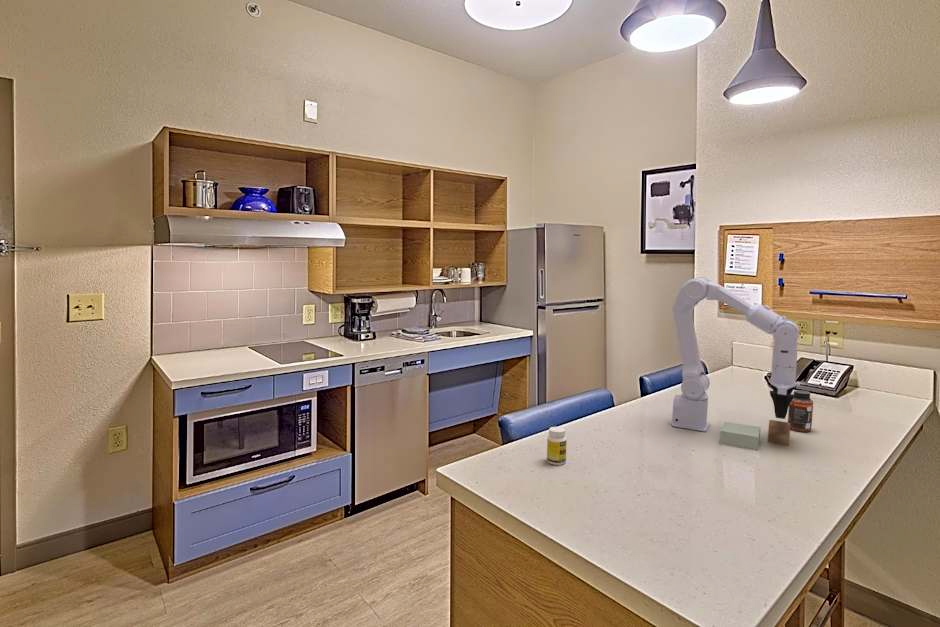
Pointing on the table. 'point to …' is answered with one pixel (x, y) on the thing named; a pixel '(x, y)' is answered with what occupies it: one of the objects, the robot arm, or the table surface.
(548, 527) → the table surface
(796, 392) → the supplement bottle
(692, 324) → the robot arm
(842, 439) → the table surface
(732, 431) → the sage block
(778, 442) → the walnut cube
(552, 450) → the supplement bottle
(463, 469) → the table surface
